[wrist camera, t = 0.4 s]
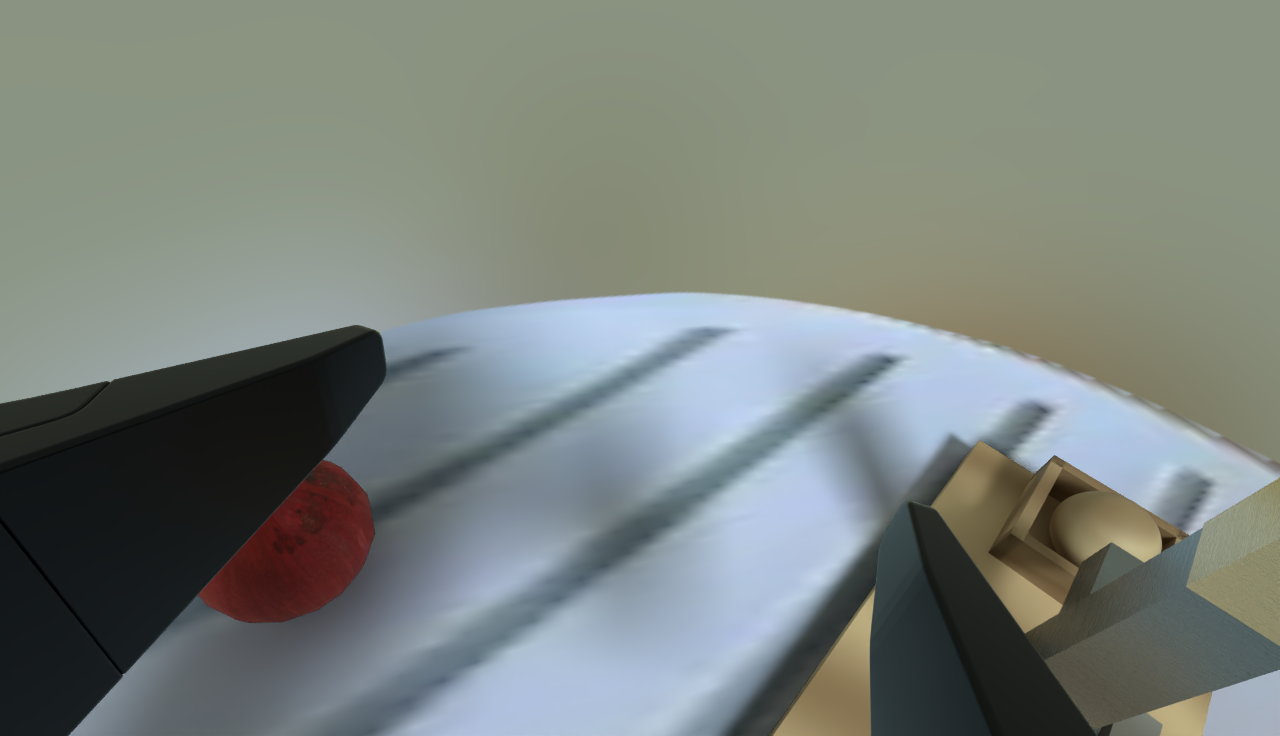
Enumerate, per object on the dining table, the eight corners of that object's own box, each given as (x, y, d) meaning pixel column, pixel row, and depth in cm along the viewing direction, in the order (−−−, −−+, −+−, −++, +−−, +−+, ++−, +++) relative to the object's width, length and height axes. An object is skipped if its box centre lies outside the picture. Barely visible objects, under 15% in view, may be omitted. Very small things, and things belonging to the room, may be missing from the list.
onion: (381, 494, 26) (321, 379, 20) (406, 610, 23) (344, 513, 17) (237, 544, 24) (126, 432, 18) (242, 679, 21) (106, 595, 15)
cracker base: (1062, 1160, 15) (1174, 1223, 12) (730, 790, 20) (754, 772, 17) (1205, 610, 25) (1282, 575, 22) (965, 456, 30) (1003, 412, 27)
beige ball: (1136, 603, 24) (1204, 566, 21) (1046, 586, 24) (1103, 548, 21) (1102, 524, 26) (1160, 483, 23) (1021, 510, 26) (1070, 467, 24)
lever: (1048, 764, 19) (1554, 621, 9) (957, 688, 21) (1309, 493, 11) (1093, 644, 22) (1520, 435, 12) (1011, 585, 23) (1330, 353, 13)
